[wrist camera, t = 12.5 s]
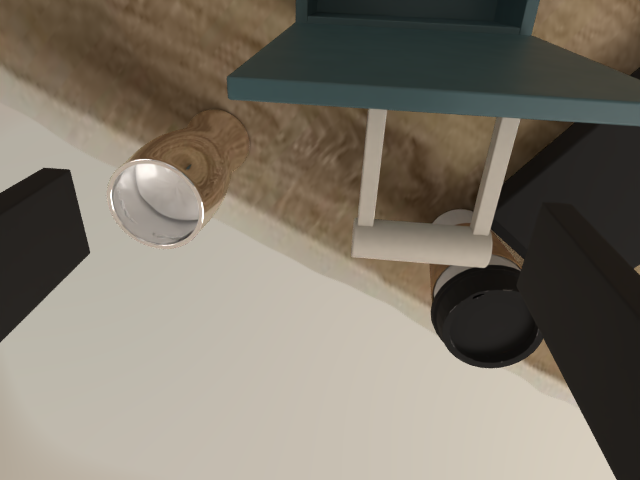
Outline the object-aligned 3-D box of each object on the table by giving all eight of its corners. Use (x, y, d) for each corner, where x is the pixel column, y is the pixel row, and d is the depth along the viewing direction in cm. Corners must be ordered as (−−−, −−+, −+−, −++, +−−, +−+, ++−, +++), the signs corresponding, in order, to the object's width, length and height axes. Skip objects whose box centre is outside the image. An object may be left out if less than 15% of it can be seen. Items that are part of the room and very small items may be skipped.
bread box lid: (225, 76, 15) (238, 272, 20) (706, 106, 14) (611, 304, 19) (294, 22, 30) (293, 140, 34) (533, 35, 29) (502, 154, 34)
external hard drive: (474, 207, 44) (481, 220, 42) (713, 2, 35) (741, 3, 32) (565, 290, 48) (577, 307, 45) (804, 126, 38) (836, 136, 36)
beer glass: (187, 94, 41) (105, 142, 28) (261, 116, 42) (214, 174, 29) (178, 164, 45) (100, 235, 32) (246, 184, 45) (198, 263, 32)
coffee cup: (484, 182, 43) (538, 267, 30) (511, 252, 46) (570, 356, 33) (401, 217, 45) (417, 309, 32) (433, 281, 49) (458, 388, 36)
